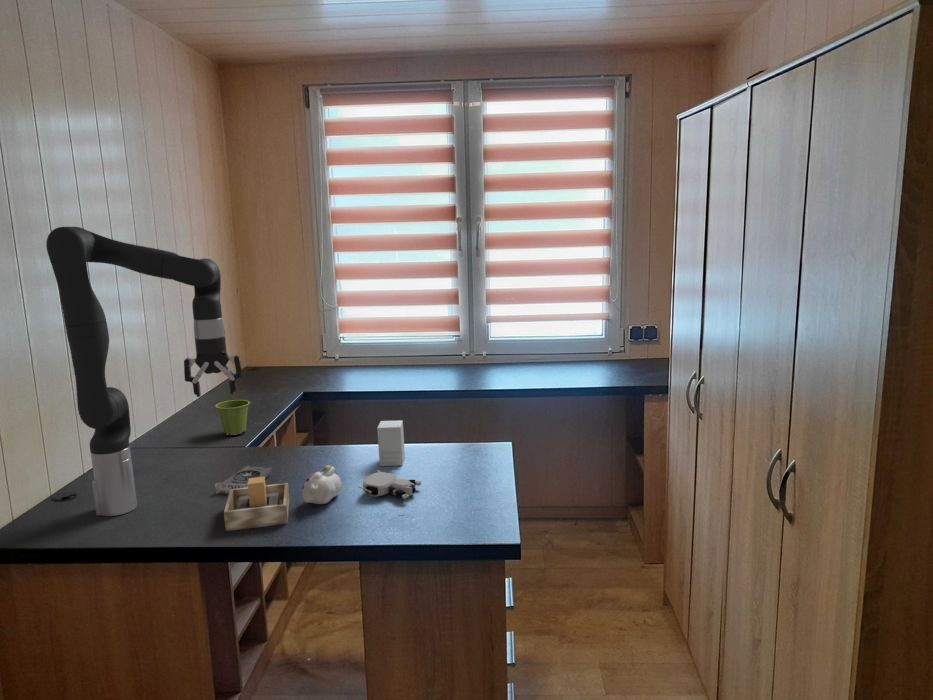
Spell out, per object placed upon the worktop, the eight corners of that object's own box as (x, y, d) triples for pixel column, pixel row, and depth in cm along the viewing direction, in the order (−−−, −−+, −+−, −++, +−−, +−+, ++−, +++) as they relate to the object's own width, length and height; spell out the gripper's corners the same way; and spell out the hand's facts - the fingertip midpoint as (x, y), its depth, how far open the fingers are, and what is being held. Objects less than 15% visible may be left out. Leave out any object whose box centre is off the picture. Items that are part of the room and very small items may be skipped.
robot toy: (423, 491, 190) (375, 482, 194) (424, 476, 189) (375, 467, 193) (406, 508, 179) (355, 499, 183) (406, 493, 178) (356, 483, 182)
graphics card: (252, 487, 186) (213, 483, 188) (253, 499, 186) (214, 496, 189) (281, 465, 202) (245, 462, 204) (282, 477, 203) (246, 474, 205)
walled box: (225, 531, 166) (223, 512, 165) (232, 506, 180) (230, 489, 179) (287, 523, 169) (286, 505, 168) (289, 500, 184) (288, 482, 183)
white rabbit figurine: (332, 457, 189) (305, 470, 175) (354, 473, 188) (330, 488, 173) (316, 484, 191) (289, 499, 177) (339, 500, 190) (313, 517, 175)
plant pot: (259, 431, 245) (256, 401, 243) (232, 440, 235) (229, 410, 233) (237, 426, 251) (235, 397, 249) (211, 435, 241) (208, 405, 239)
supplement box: (405, 457, 214) (403, 419, 212) (402, 466, 207) (400, 427, 204) (382, 458, 214) (380, 420, 212) (378, 466, 207) (376, 427, 205)
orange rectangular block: (250, 516, 172) (247, 484, 171) (251, 510, 176) (248, 478, 174) (266, 514, 173) (263, 482, 172) (267, 508, 177) (264, 476, 175)
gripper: (178, 339, 171) (185, 400, 174) (236, 335, 174) (242, 396, 177) (183, 334, 178) (189, 393, 181) (239, 331, 181) (244, 389, 184)
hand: (215, 394), depth 179 cm, fingers open, 8 cm apart
